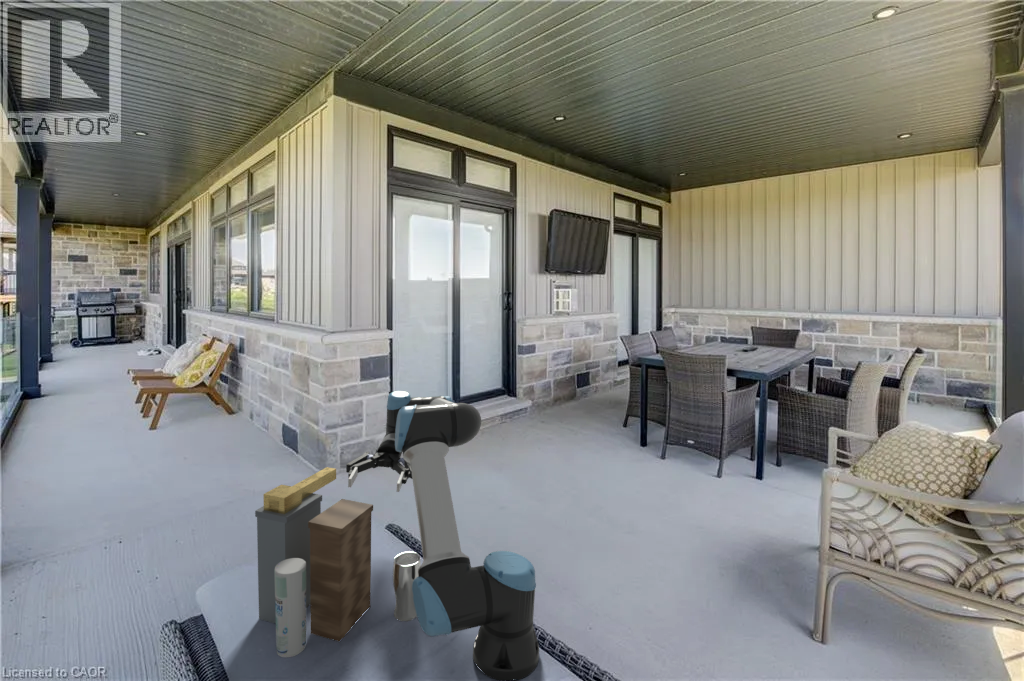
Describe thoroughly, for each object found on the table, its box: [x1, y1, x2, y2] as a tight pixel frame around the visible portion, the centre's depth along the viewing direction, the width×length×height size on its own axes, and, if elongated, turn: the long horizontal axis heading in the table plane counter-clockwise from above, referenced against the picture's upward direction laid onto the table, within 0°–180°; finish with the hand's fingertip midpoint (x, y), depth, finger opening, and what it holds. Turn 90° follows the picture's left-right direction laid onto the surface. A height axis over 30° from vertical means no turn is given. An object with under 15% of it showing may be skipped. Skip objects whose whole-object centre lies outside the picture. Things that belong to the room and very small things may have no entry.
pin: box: [262, 466, 337, 514], centre depth 130 cm, size 22×6×4 cm, turn 164°
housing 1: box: [254, 492, 323, 625], centre depth 126 cm, size 13×9×28 cm
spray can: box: [274, 558, 307, 658], centre depth 113 cm, size 6×6×20 cm
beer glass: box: [392, 551, 422, 622], centre depth 126 cm, size 7×7×15 cm
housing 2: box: [308, 498, 374, 642], centre depth 122 cm, size 13×9×28 cm
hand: (373, 485), depth 141 cm, fingers open, 13 cm apart
